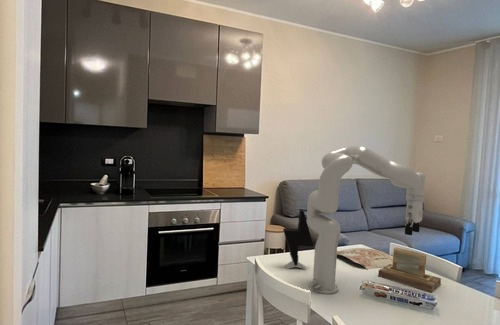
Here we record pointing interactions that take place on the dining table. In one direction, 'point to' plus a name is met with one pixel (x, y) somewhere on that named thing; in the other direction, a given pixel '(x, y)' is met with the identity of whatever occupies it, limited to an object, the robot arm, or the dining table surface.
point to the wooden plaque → (409, 262)
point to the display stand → (410, 279)
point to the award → (298, 240)
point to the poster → (367, 257)
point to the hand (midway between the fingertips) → (412, 233)
